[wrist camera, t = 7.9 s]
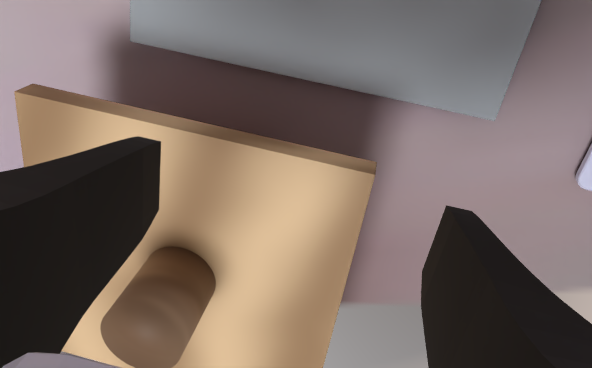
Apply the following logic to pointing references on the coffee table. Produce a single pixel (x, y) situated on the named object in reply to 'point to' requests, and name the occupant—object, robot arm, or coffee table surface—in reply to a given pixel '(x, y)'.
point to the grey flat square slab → (356, 43)
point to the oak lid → (213, 240)
